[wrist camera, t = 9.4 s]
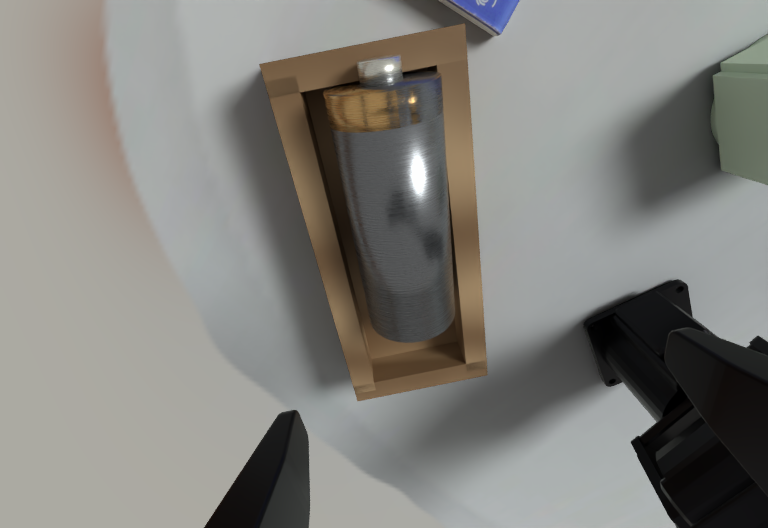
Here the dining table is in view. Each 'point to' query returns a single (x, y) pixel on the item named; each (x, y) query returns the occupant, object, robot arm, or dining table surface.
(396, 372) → the trough
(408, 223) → the cell
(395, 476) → the dining table surface
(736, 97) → the cup
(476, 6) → the hard drive
